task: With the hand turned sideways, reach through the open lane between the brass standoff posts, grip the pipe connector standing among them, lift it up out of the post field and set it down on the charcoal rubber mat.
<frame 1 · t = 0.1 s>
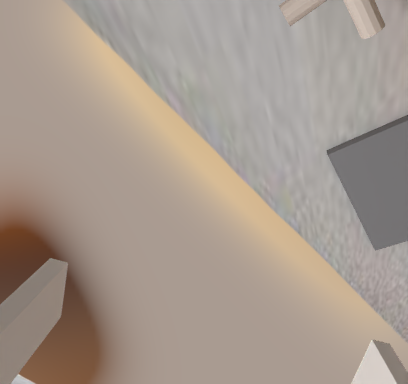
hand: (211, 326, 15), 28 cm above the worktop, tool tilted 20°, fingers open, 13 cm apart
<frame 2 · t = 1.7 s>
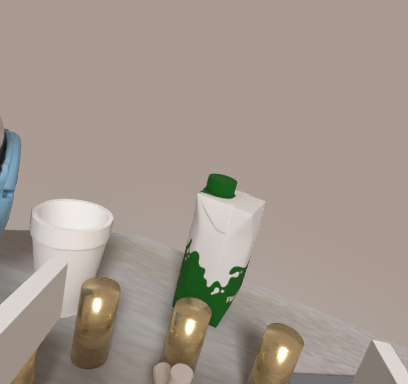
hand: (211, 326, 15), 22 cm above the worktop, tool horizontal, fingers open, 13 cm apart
milk carton: (202, 306, 52), on the worktop
foam cup: (62, 303, 46), on the worktop
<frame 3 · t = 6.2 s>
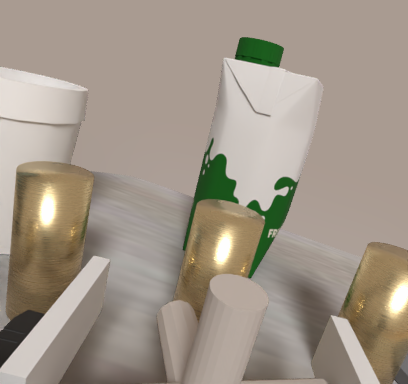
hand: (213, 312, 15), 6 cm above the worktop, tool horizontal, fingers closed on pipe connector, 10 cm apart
milk carton: (227, 253, 35), on the worktop
foam cup: (8, 237, 29), on the worktop
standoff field: (150, 364, 19), on the worktop
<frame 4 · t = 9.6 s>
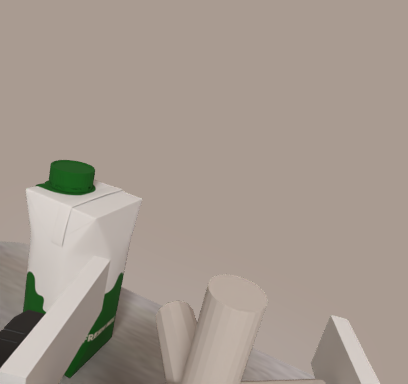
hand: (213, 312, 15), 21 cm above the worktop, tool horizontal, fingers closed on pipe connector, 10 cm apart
milk carton: (66, 343, 38), on the worktop
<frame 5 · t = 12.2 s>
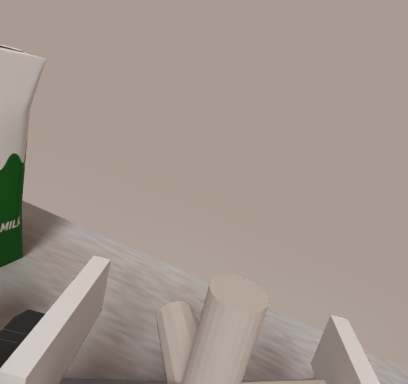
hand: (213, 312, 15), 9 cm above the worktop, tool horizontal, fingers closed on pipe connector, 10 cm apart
when the fingers open (8 cm above the worktop, at t = 13.0 s): pipe connector drops 1 cm, resting on rubber mat.
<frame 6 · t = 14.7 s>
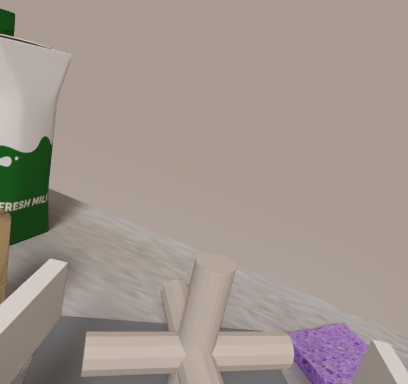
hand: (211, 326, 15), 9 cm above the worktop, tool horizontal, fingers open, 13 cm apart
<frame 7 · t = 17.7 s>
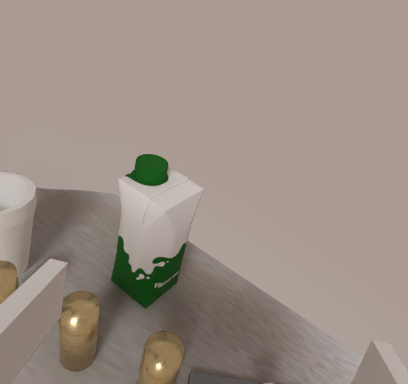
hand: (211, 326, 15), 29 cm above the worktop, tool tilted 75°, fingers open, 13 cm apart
milk carton: (144, 282, 52), on the worktop
foam cup: (3, 267, 49), on the worktop
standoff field: (44, 368, 39), on the worktop
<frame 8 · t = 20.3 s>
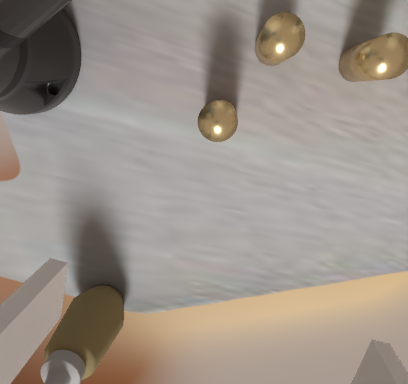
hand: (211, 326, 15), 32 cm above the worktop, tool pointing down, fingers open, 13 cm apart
squeeze bottle: (105, 300, 52), on the worktop
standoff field: (328, 84, 41), on the worktop
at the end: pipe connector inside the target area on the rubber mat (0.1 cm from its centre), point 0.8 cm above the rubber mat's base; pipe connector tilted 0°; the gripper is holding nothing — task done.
